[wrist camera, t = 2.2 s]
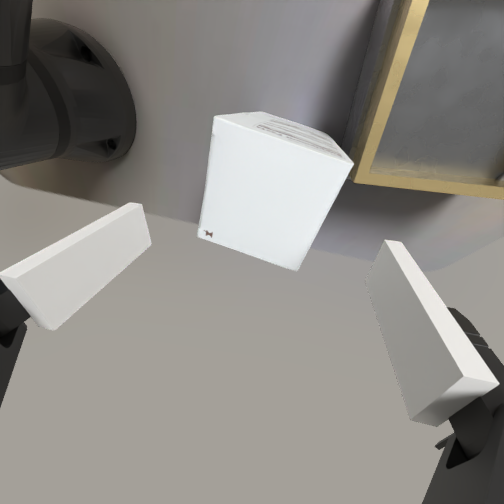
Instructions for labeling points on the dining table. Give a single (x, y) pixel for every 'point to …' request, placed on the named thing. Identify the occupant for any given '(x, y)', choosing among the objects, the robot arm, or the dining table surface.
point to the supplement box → (269, 186)
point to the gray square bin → (431, 99)
